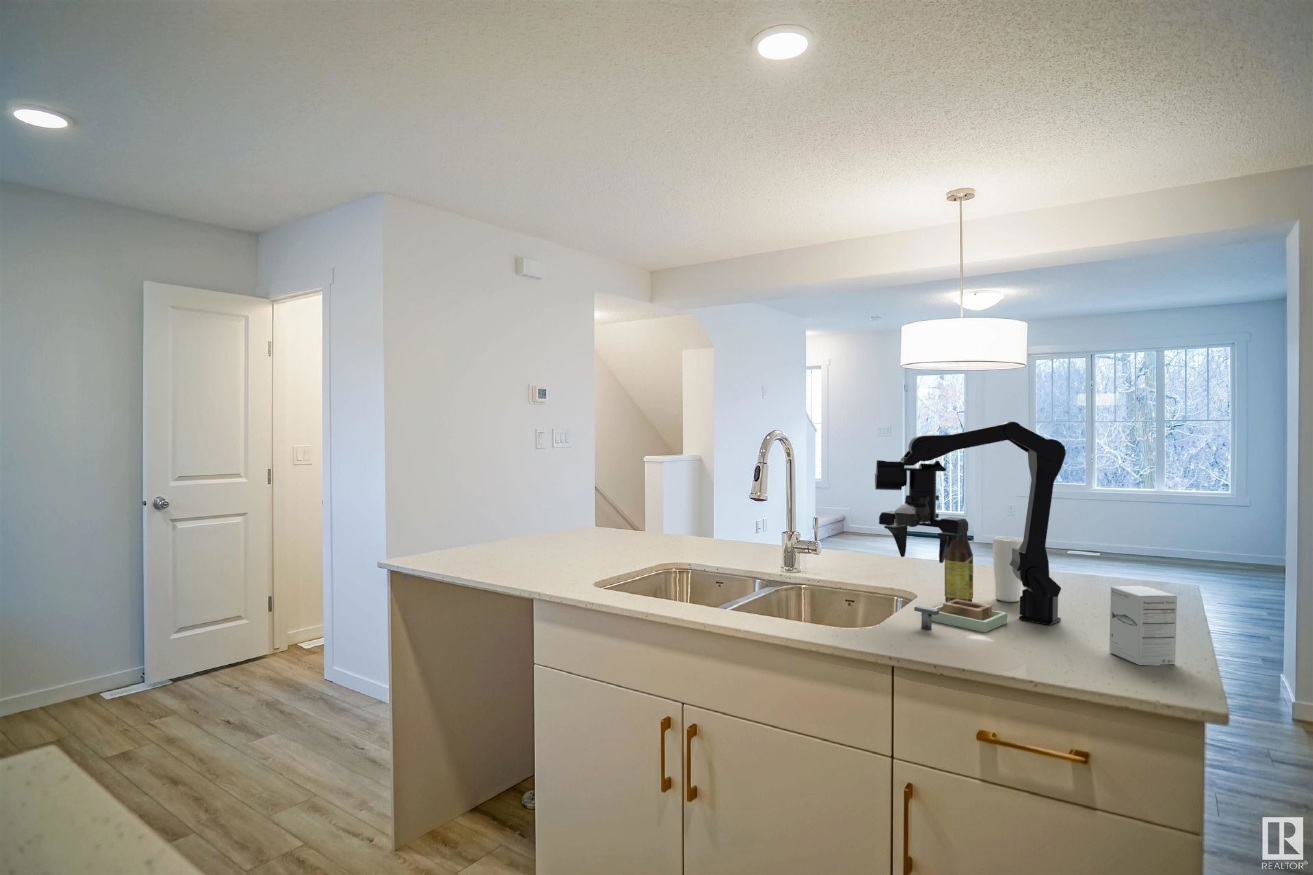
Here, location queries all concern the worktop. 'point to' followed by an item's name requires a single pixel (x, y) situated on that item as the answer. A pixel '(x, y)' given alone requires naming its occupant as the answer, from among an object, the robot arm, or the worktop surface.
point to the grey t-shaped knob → (926, 616)
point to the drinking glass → (1005, 569)
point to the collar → (968, 609)
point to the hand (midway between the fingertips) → (921, 559)
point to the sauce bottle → (959, 570)
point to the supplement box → (1143, 625)
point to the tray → (971, 620)
